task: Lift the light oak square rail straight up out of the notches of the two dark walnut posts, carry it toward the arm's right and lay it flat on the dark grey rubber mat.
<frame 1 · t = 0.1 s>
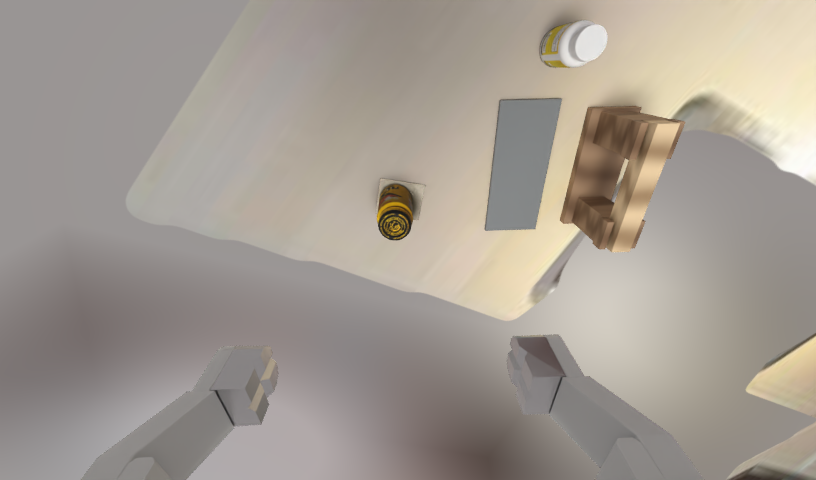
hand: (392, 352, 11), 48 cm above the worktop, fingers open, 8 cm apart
supplement bottle: (556, 47, 48), on the worktop
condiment: (399, 199, 60), on the worktop
rail: (635, 191, 47), point 11 cm above the worktop, touching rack
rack: (594, 168, 57), on the worktop
mat: (518, 170, 57), on the worktop
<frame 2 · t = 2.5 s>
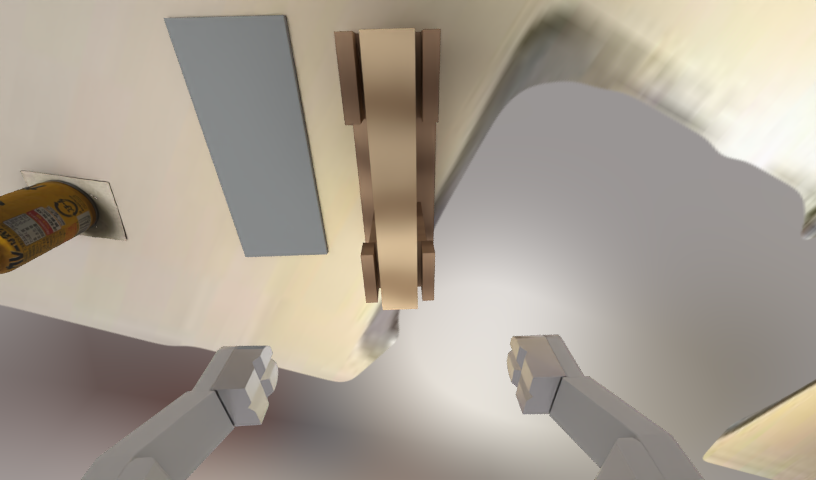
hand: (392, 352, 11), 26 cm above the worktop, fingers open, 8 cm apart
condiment: (80, 206, 35), on the worktop
rail: (395, 193, 23), point 11 cm above the worktop, touching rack
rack: (396, 153, 33), on the worktop
mat: (263, 157, 33), on the worktop
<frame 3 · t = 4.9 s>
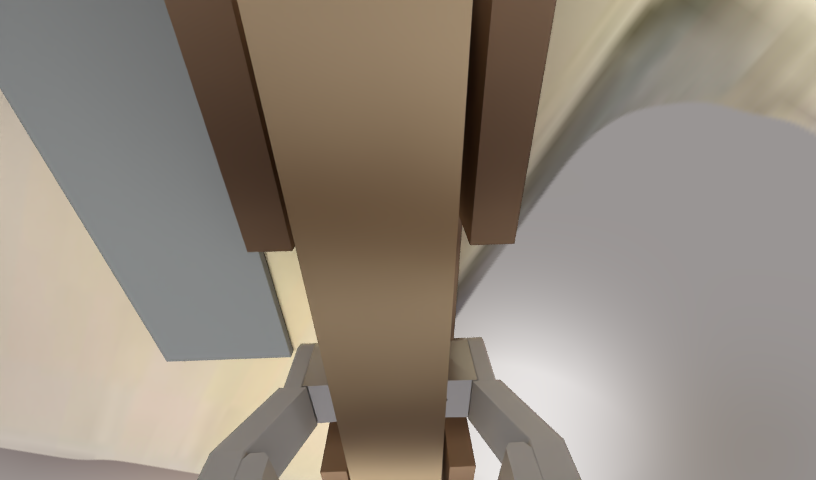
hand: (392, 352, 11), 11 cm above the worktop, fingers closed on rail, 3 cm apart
rail: (392, 373, 10), point 11 cm above the worktop, touching gripper, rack
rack: (395, 217, 20), on the worktop
mat: (175, 223, 20), on the worktop
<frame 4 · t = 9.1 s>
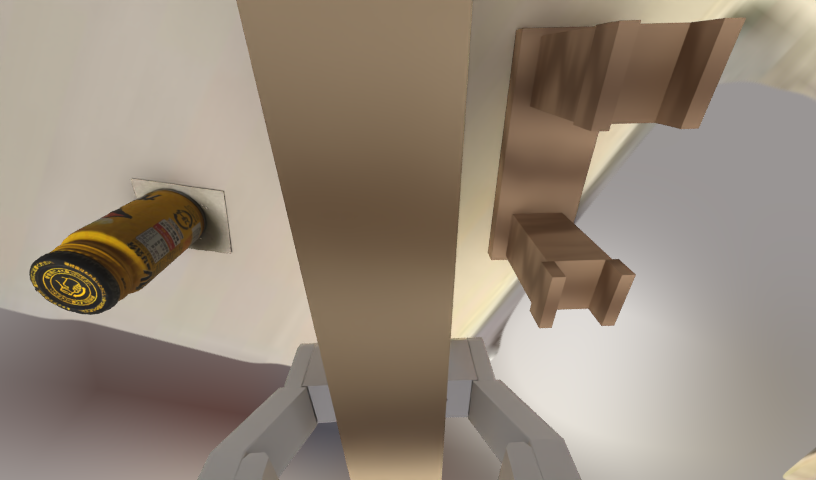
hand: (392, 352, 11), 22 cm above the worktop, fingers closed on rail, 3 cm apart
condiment: (186, 216, 32), on the worktop
rail: (392, 374, 10), point 23 cm above the worktop, touching gripper
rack: (540, 159, 30), on the worktop
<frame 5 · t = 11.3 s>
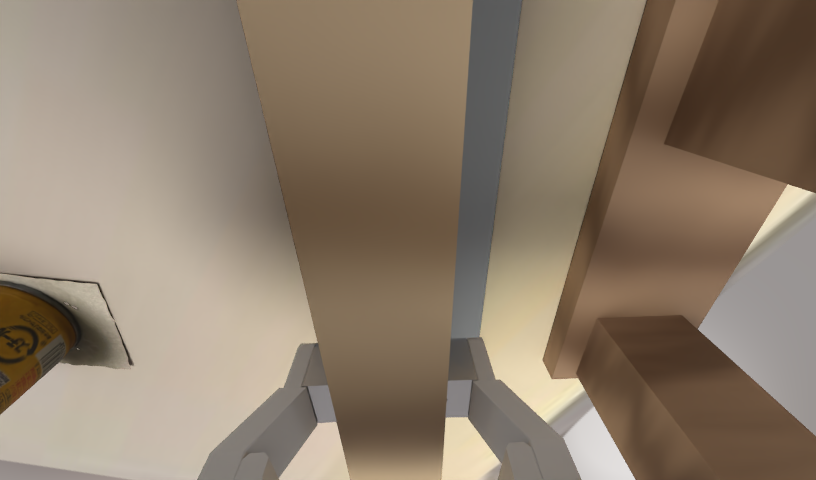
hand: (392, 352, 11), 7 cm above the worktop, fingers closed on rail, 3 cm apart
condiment: (47, 318, 19), on the worktop
rail: (392, 375, 10), point 8 cm above the worktop, touching gripper
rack: (653, 229, 17), on the worktop
mat: (396, 238, 17), on the worktop
when the fingers open (3 cm above the worktop, at t = 13.1 s): rail drops 2 cm, resting on mat.
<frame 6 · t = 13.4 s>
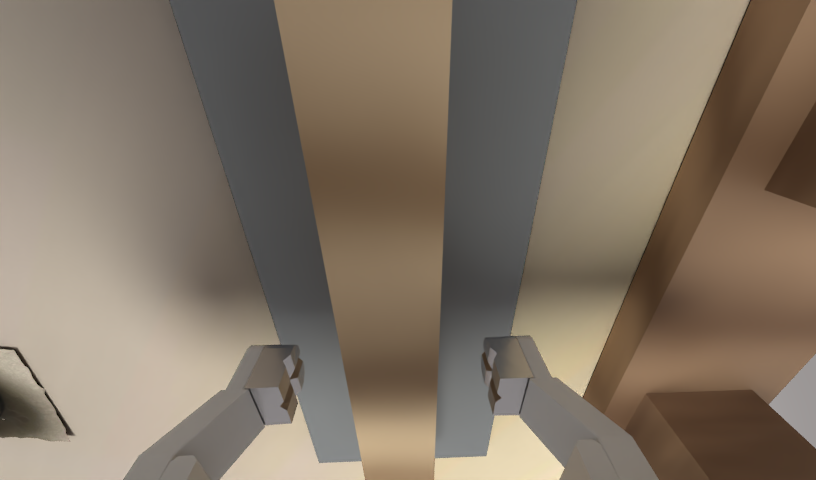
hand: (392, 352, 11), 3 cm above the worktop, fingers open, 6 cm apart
rail: (392, 336, 11), point 2 cm above the worktop, touching mat
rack: (721, 286, 13), on the worktop
mat: (394, 297, 13), on the worktop
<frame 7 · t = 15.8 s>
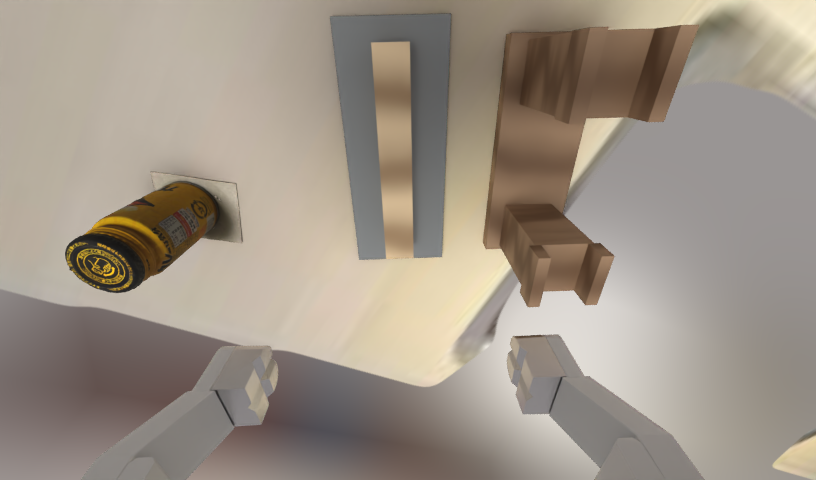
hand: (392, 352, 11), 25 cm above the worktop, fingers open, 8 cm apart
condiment: (201, 208, 35), on the worktop
rail: (396, 164, 30), point 2 cm above the worktop, touching mat
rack: (531, 154, 32), on the worktop
mat: (396, 158, 32), on the worktop
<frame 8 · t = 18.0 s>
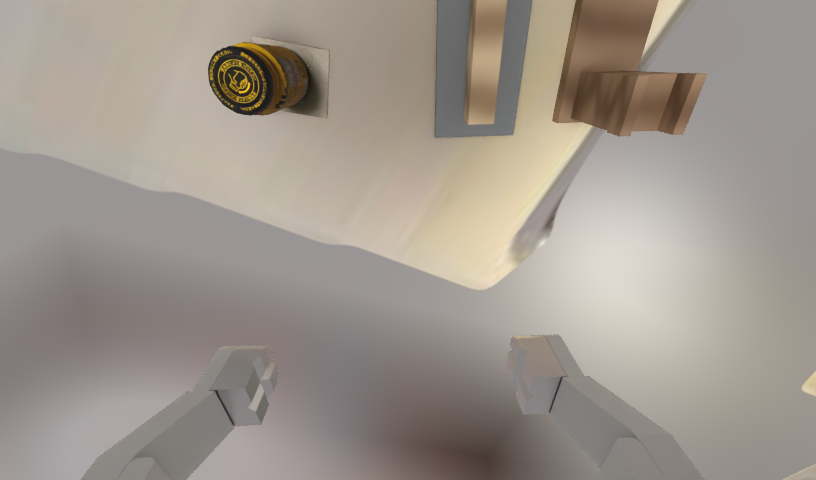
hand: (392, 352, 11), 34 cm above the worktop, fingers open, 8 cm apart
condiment: (292, 79, 37), on the worktop
rail: (486, 21, 32), point 2 cm above the worktop, touching mat
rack: (608, 19, 34), on the worktop
mat: (482, 22, 34), on the worktop
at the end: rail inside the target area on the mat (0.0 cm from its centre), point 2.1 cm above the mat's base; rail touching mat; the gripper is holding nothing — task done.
